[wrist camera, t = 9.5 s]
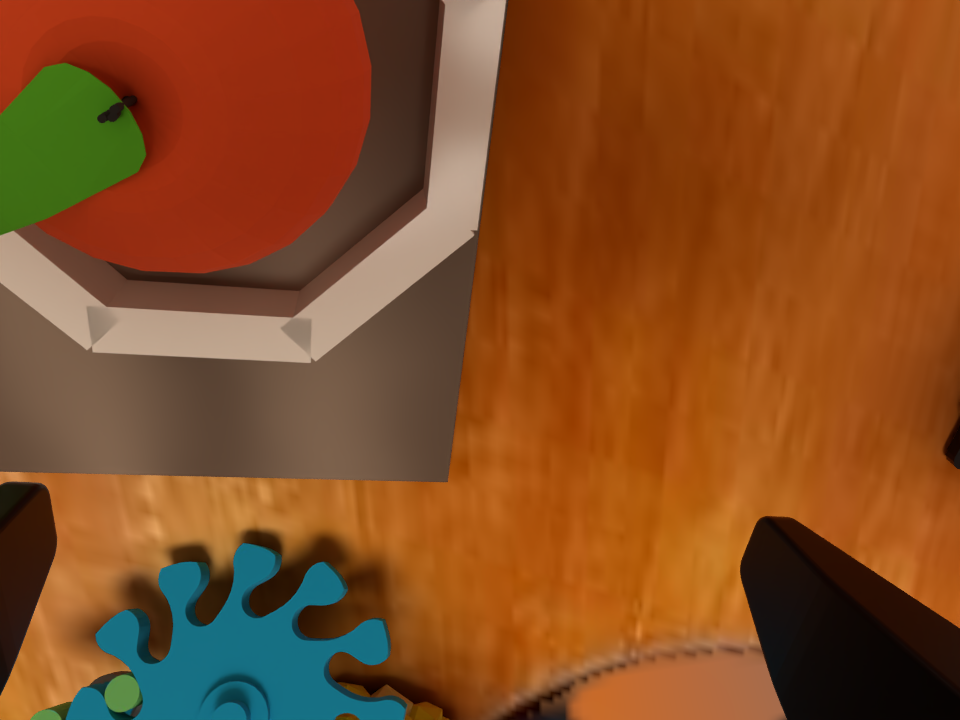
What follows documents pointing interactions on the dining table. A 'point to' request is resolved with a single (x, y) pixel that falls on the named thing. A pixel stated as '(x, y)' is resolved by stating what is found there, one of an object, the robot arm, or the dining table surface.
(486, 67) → the seat ring
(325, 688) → the blue knobbed toy
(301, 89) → the clementine
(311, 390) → the board
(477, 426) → the dining table surface
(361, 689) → the food
